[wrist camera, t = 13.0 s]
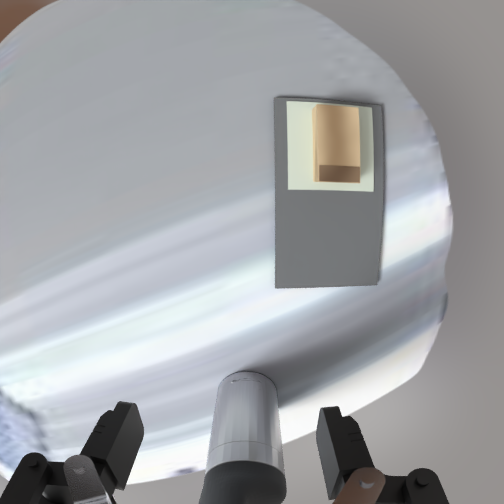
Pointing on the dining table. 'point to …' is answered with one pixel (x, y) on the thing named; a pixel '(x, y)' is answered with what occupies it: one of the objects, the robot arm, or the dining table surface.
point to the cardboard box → (336, 144)
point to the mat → (326, 203)
